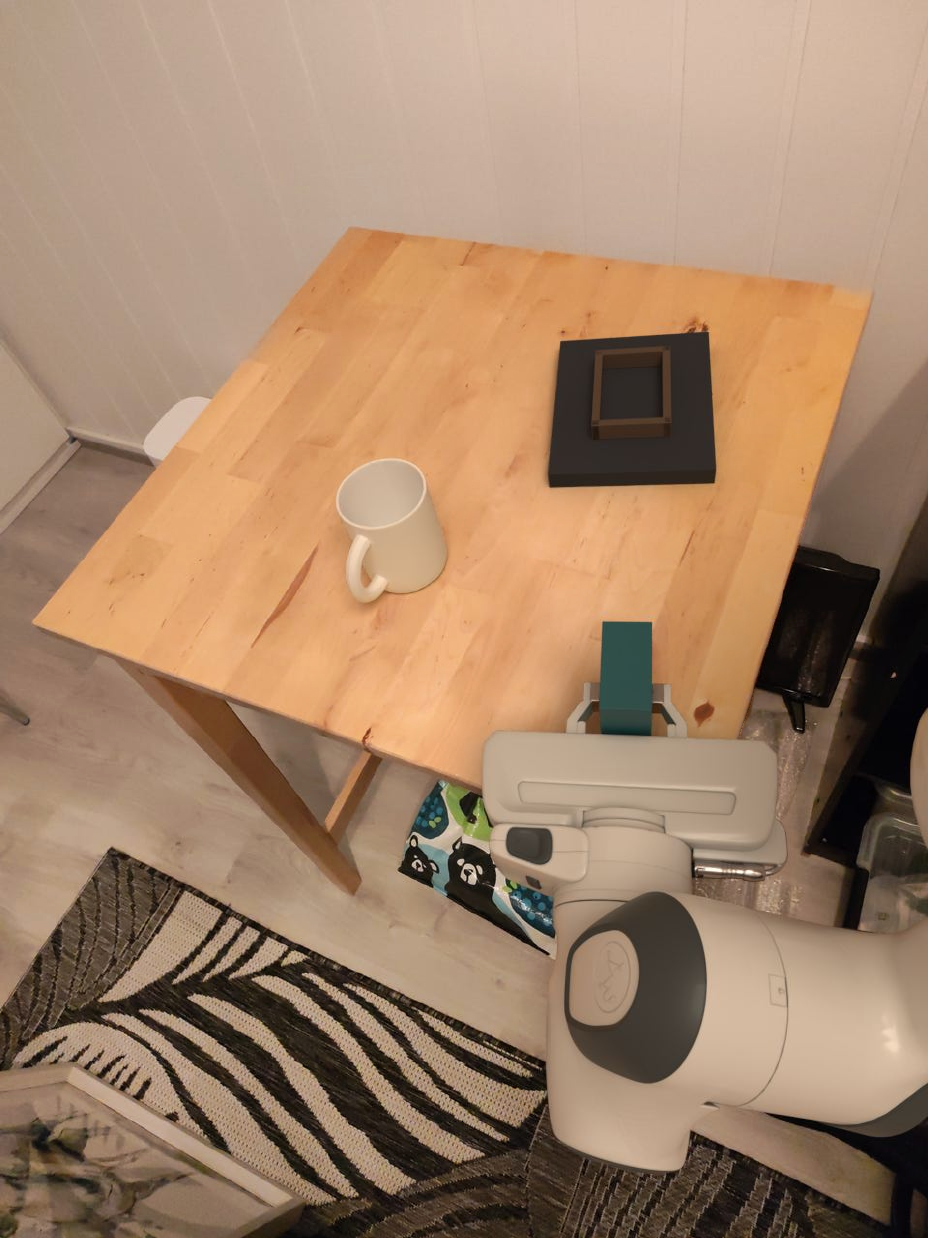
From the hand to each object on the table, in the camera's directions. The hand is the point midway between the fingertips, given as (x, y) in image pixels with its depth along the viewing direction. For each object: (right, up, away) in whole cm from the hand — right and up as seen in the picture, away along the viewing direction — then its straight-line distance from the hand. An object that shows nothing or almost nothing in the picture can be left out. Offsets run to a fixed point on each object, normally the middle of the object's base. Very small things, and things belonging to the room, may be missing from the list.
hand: (626, 686), depth 60 cm
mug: (-19, +9, +18) cm, 28 cm away
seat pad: (+5, +27, +25) cm, 37 cm away
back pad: (+1, -4, +5) cm, 6 cm away
